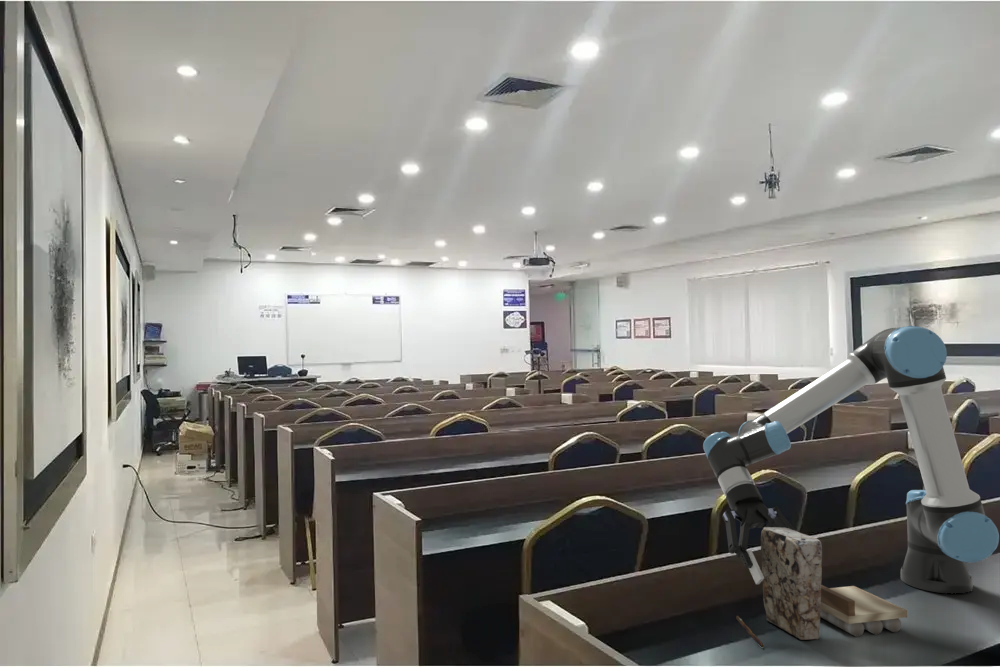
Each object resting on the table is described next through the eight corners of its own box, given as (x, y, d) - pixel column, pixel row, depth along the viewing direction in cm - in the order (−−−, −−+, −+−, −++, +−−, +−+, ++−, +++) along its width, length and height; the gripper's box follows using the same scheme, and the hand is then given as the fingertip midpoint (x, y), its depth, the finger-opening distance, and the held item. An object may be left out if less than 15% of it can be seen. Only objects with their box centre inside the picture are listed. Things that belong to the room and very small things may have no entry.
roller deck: (854, 605, 154) (853, 572, 154) (907, 632, 139) (906, 595, 140) (800, 611, 151) (799, 577, 151) (849, 639, 136) (848, 601, 137)
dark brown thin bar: (764, 650, 132) (764, 645, 132) (761, 650, 132) (761, 645, 132) (738, 620, 147) (738, 615, 147) (736, 620, 147) (736, 615, 147)
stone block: (828, 638, 137) (825, 538, 137) (800, 643, 135) (798, 542, 135) (781, 614, 149) (779, 523, 150) (755, 619, 147) (753, 526, 148)
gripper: (776, 497, 165) (821, 583, 149) (690, 502, 160) (728, 592, 144) (789, 479, 160) (838, 566, 144) (701, 484, 155) (742, 574, 139)
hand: (783, 579), depth 144 cm, fingers open, 10 cm apart
